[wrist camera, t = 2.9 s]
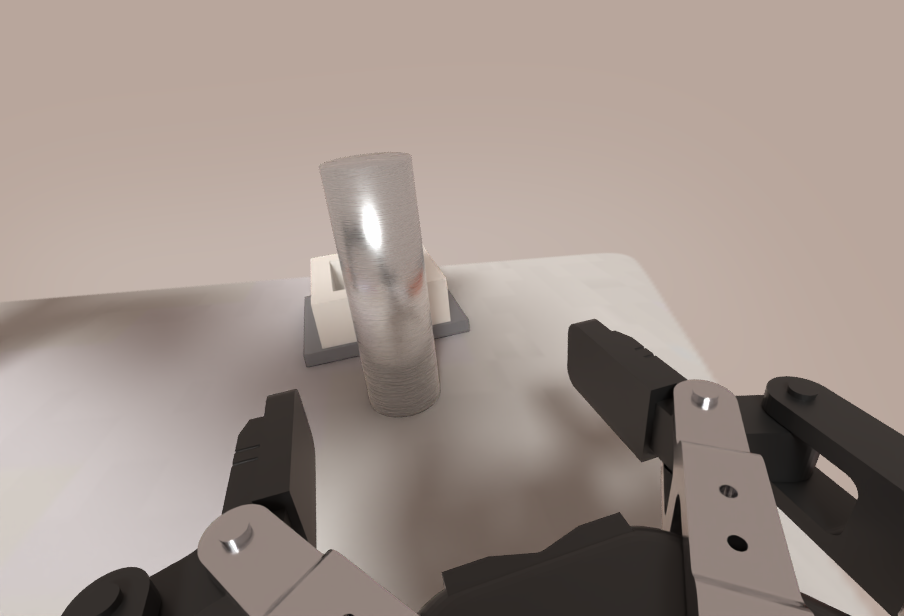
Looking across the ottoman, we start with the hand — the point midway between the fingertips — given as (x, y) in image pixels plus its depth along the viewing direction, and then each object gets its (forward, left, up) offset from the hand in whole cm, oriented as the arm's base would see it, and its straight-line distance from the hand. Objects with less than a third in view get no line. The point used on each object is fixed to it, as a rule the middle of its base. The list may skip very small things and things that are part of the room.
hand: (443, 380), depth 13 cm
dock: (0, +23, -9) cm, 25 cm away
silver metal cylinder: (0, +12, -10) cm, 16 cm away
